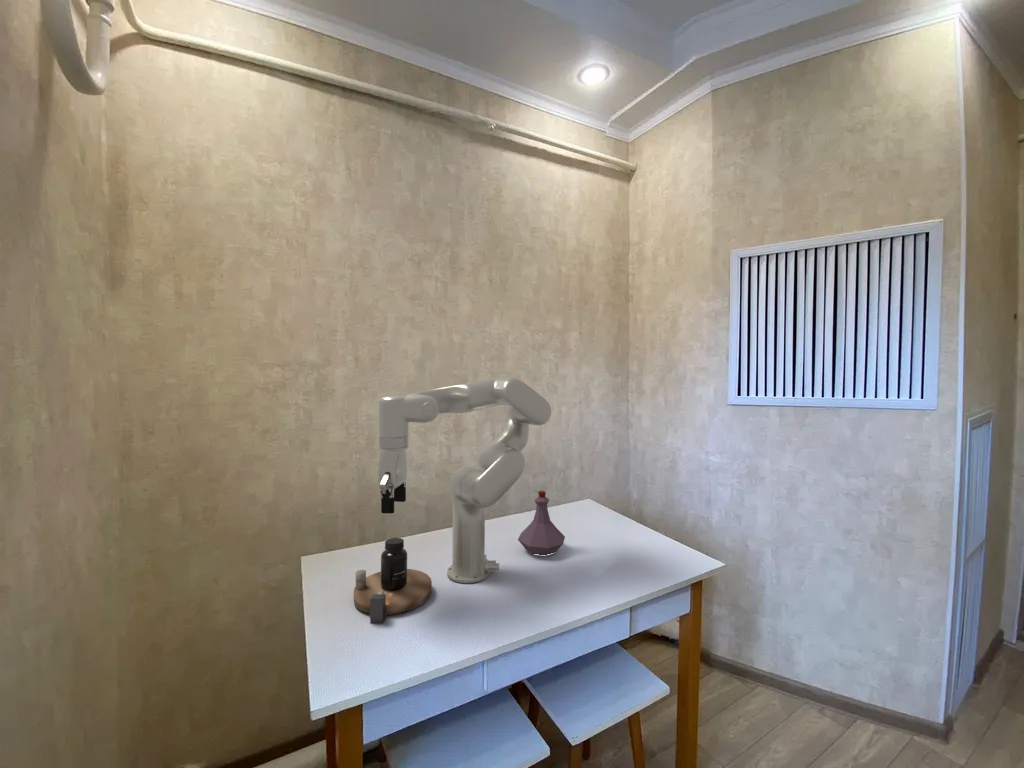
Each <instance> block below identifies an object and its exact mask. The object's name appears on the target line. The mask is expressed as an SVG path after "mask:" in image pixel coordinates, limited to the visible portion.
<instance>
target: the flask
mask: <svg viewBox="0 0 1024 768" xmlns="http://www.w3.org/2000/svg"><path fill="white" fill-rule="evenodd" d="M537 493H538V494H537V495H538V496H537V497H536V498H535V499H534V502H535V505H536V509H535V513H534V516H533V520H532V521H531V522H530V523H529V525H528V526H527V527H525V529H524V530H523V531H521V532H520V534H519V536H518V538H517V541H518V542H519V543H520V545H522V546H523V548H524V549H525V550H526V552H528V551H529V552H531V553H532V554H531V553H530V554H531V555H533V554H539V555H547V554H551V553H554V552H555V553H556V552H557V551H558V550H559V549H560V548H561V547H562V546H563V545H564V543H565V539H566V536H565V535H564V534H563V533H562V532H561V531H560V530H559V529H558V528H557V527H556V525H555V524H554V523H553V522H552V521H551V517H550V513H549V509H548V503H549V501H550V499H549V498H548V497H547V496H546V493H547V492H546V491H545V490H538V492H537ZM529 552H528V553H529ZM555 553H554V554H555Z"/></svg>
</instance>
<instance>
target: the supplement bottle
mask: <svg viewBox="0 0 1024 768" xmlns="http://www.w3.org/2000/svg"><path fill="white" fill-rule="evenodd" d="M404 547H405V540H404V539H403V538H401V537H390V538H388V539H387V540H385V541H384V550H383V551H382V553H381V556H380V572H381V587H382V588H383V589H384V590H387V591H395V590H399V589H402V588H403V587H405V585H406V584H407V569H408V551H407V550H406V549H405V548H404Z"/></svg>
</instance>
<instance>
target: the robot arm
mask: <svg viewBox="0 0 1024 768" xmlns="http://www.w3.org/2000/svg"><path fill="white" fill-rule="evenodd" d="M496 406H507V411H506V413H507V415H506V416H507V419H506V425H505V428H504V429H503V430H502V432H501V433H500V434H499V435H498V436H497V437H496V438H495V439H494V440H492V441H491V442H490V443H489V444H488V445H487V446H486V447H485V448H483V450H482V451H481V453H480V454H479V456H478V460H477V461H478V466H479V468H480V469H481V470H480V469H478V468H476V467H473V466H472V467H471V466H463V467H460V468H458V469H456V470H455V471H454V472H453V473H452V476H451V478H450V481H449V491H450V496H451V504H452V505H451V506H452V507H451V508H452V562H451V563H452V564H451V565H450V566H449V567H448V568H447V569H446V577H448V579H450V580H451V581H453V582H456V583H460V584H474V583H479V582H481V581H484V580H485V579H487V578H488V577H489V575H490V573H491V571H499V570H500V563H499V562H497V560H496V559H495V560H489V559H488V557H487V554H485V548H486V545H485V544H486V543H485V539H486V538H485V537H486V536H485V531H486V528H485V526H486V524H485V523H486V511H485V509H486V508H489V507H492V506H493V505H494V504H496V503H497V502H498V501H499V500H500V499H501V498H502V497H503V496H504V495H505V494H506V493H507V492H508V491H509V490H510V489H511V488H512V487H513V486H514V484H515V483H517V481H518V480H519V479H520V478H521V476H522V475H523V473H524V469H525V466H526V465H525V464H526V460H525V457H524V454H523V452H522V451H523V450H524V449H525V447H526V446H527V444H528V441H529V435H530V434H529V427H530V426H529V425H533V426H542V425H545V424H546V423H547V422H548V421H549V420H550V419H551V416H552V407H551V404H550V403H549V401H548V400H547V399H546V397H544V396H542V395H541V394H539V393H538V392H537V391H536V390H534V388H532V387H531V386H529V385H527V383H526V382H524V381H522V380H521V379H519V378H517V377H507V376H506V377H504V376H499V377H491V378H487V379H482V380H477V381H476V380H475V381H473V382H466V383H462V384H455V385H450V386H445V387H439V388H434V389H428V390H427V389H426V390H422V391H418V392H412V393H409V394H406V395H405V396H402V395H388V396H382V397H381V398H380V399H379V400H378V450H380V451H379V457H378V458H379V459H378V470H377V473H378V474H377V475H378V476H377V487H378V489H380V492H379V493H380V500H381V501H380V505H381V506H380V508H381V514H394V513H395V502H396V503H398V502H399V503H400V502H401V503H405V502H406V501H407V500H406V499H407V494H406V493H407V490H406V489H407V487H406V485H407V483H406V480H407V472H408V471H407V469H408V467H407V466H408V463H407V452H406V451H407V449H409V423H419V424H428V423H430V422H434V421H435V419H437V417H438V416H439V414H448V413H449V414H453V413H454V414H463V413H464V414H466V413H472V412H475V411H479V410H483V409H488V408H492V407H496Z"/></svg>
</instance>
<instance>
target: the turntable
mask: <svg viewBox="0 0 1024 768" xmlns="http://www.w3.org/2000/svg"><path fill="white" fill-rule="evenodd" d="M432 588H433V581H432V579H431V577H430V575H428V574H427V573H425V572H423V571H421V570H417V569H412V568H407V584H406V585H405V587H403V588H402V589H399V590H395V591H387V590H384V589H383V588H382V587H381V571H378V572H375V573H372V574H370V575H368V576H367V570H365V569H359V570H356V571H355V587H354V589H353V604H354V605H355V607H356V608H357V609H359V610H361V611H362V612H365V613H368V614H370V598H371V597H372V595H373V594H378V593H379V591H384V594H386V615H393V614H399V613H403V612H407V611H410V610H412V609H414V608H417V607H419V606H420V605H423V603H425V602H426V601H427V600H428V599H429V598H430V597H431V594H432V591H433V590H432Z"/></svg>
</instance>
